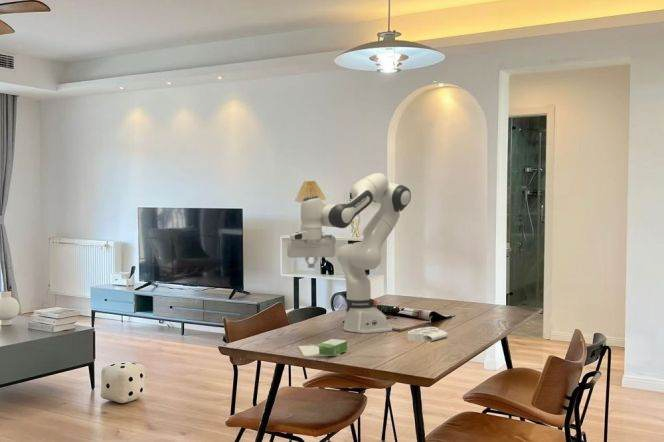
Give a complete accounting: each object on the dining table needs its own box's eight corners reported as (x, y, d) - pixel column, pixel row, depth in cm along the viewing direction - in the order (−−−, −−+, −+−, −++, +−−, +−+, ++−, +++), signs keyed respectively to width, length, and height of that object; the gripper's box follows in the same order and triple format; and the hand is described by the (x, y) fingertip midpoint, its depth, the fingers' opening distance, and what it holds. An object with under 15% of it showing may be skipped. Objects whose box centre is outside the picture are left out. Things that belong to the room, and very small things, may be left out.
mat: (332, 346, 268) (332, 344, 268) (340, 355, 252) (340, 353, 252) (298, 347, 265) (298, 346, 265) (304, 357, 249) (304, 355, 249)
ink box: (332, 348, 261) (313, 355, 249) (332, 338, 261) (313, 345, 249) (347, 350, 257) (329, 358, 246) (347, 340, 257) (329, 347, 246)
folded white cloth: (427, 344, 272) (399, 339, 282) (452, 337, 285) (424, 332, 295) (427, 336, 272) (399, 331, 282) (452, 330, 285) (424, 325, 295)
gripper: (334, 234, 279) (334, 266, 280) (286, 234, 275) (286, 267, 276) (337, 235, 273) (337, 268, 274) (288, 235, 269) (288, 269, 270)
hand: (311, 267), depth 275 cm, fingers closed
